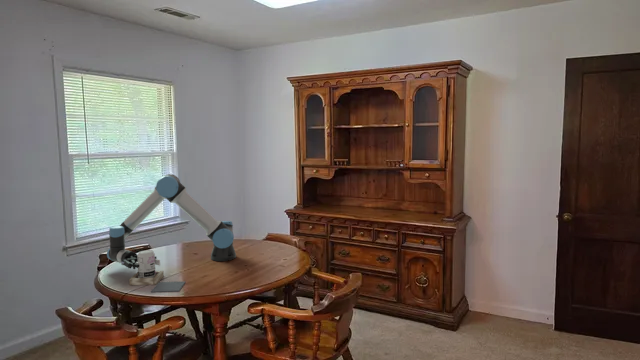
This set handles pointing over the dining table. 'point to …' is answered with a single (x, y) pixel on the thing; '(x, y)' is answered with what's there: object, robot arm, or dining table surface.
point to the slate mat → (168, 287)
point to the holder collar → (146, 279)
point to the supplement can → (146, 264)
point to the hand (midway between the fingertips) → (151, 264)
